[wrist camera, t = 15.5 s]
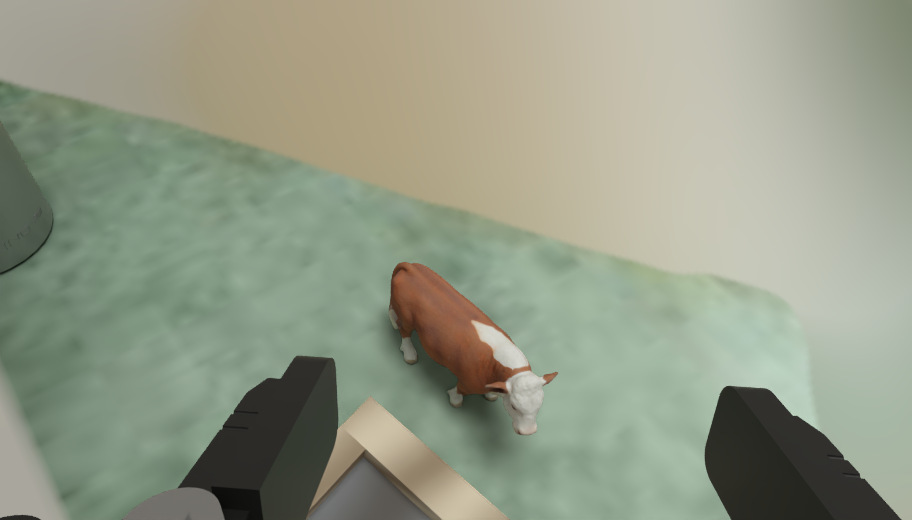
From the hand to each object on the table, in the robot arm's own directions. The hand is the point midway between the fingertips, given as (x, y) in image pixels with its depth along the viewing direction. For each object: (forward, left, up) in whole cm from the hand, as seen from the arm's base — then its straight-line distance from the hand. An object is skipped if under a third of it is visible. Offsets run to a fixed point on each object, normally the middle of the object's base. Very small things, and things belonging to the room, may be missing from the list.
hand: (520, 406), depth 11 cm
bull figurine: (+1, +12, -23) cm, 26 cm away
